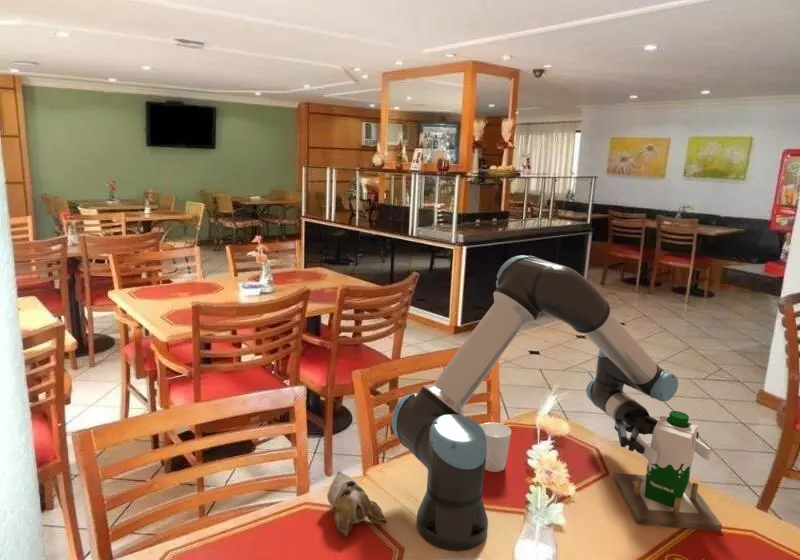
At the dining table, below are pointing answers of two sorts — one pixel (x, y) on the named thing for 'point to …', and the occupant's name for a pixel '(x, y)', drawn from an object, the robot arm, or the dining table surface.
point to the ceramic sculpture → (351, 504)
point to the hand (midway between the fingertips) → (682, 456)
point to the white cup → (496, 445)
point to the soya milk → (671, 458)
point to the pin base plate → (650, 512)
